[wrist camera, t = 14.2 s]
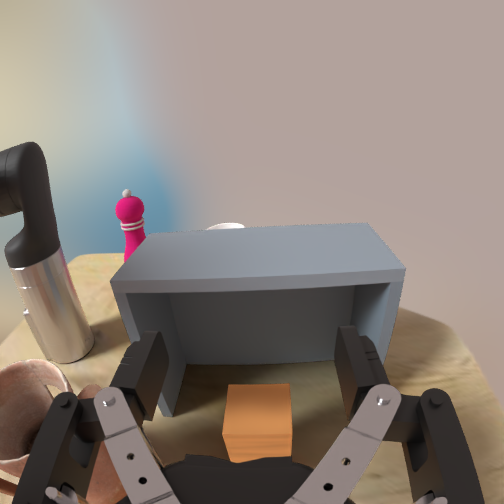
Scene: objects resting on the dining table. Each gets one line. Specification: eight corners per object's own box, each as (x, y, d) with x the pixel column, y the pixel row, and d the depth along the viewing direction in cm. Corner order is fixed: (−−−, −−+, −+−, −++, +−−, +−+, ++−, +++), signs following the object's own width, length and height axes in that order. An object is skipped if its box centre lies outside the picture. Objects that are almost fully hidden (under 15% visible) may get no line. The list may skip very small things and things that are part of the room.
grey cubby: (368, 411, 30) (405, 268, 22) (163, 416, 32) (109, 280, 24) (351, 352, 40) (367, 222, 32) (180, 357, 41) (149, 233, 33)
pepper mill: (166, 272, 66) (150, 184, 58) (148, 288, 60) (127, 194, 52) (142, 269, 68) (124, 185, 60) (123, 284, 62) (101, 195, 54)
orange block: (288, 483, 23) (292, 433, 19) (237, 483, 23) (222, 433, 19) (287, 444, 28) (289, 383, 23) (241, 445, 28) (228, 384, 23)
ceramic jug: (113, 410, 32) (64, 325, 26) (180, 488, 23) (123, 414, 17) (13, 466, 21) (-58, 391, 14) (55, 558, 11) (-48, 504, 5)
